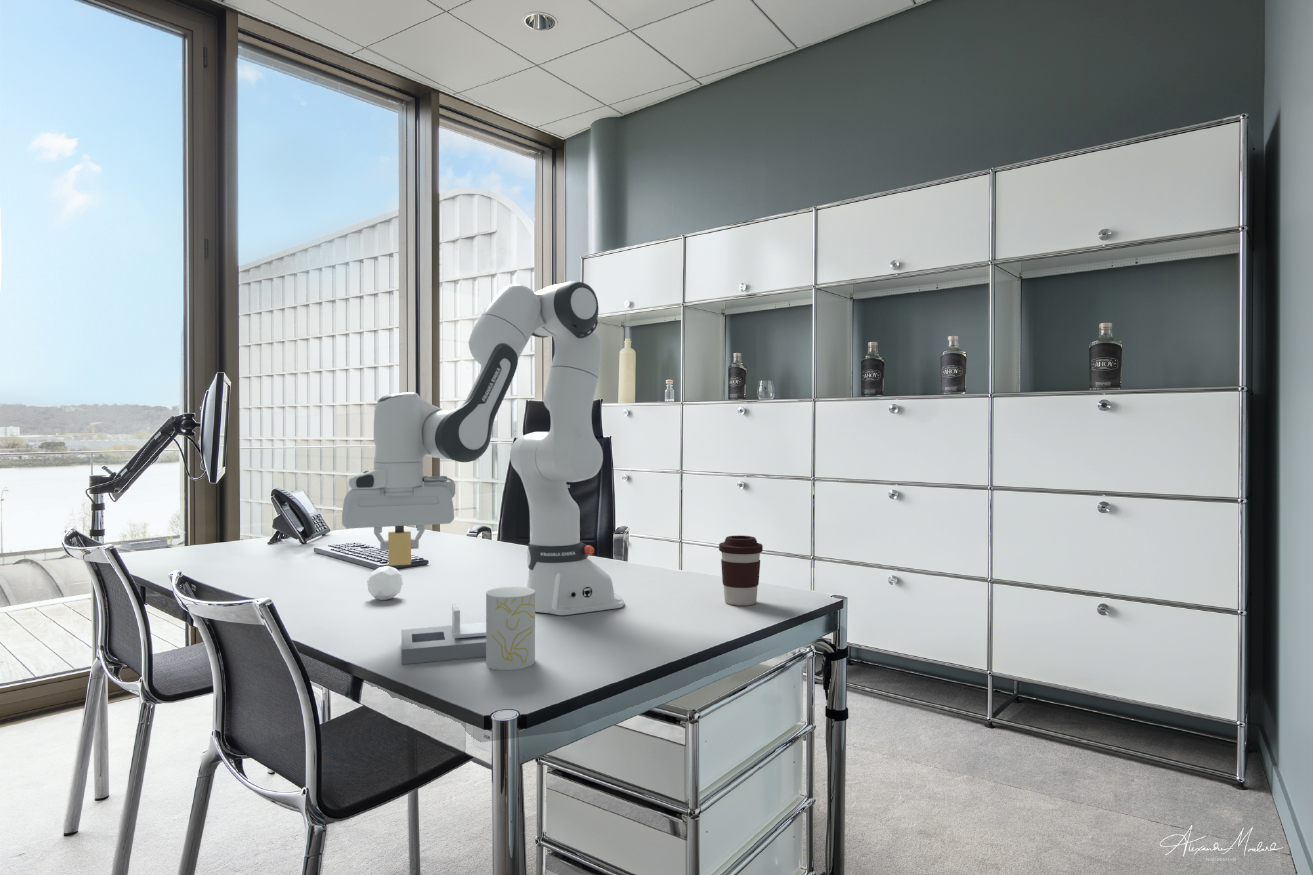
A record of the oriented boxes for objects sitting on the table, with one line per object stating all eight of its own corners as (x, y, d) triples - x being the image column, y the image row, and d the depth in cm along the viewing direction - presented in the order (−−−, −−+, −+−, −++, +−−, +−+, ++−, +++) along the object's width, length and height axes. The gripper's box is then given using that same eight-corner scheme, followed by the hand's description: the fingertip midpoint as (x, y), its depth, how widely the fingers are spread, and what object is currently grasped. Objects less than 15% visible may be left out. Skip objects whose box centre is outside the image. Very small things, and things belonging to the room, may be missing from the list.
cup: (493, 672, 120) (493, 599, 120) (480, 658, 127) (480, 589, 127) (541, 665, 124) (541, 594, 124) (526, 652, 131) (526, 585, 131)
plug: (410, 560, 144) (410, 519, 144) (411, 564, 140) (410, 522, 140) (388, 562, 143) (388, 520, 142) (388, 565, 139) (388, 523, 139)
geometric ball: (392, 608, 173) (413, 579, 176) (382, 604, 166) (404, 573, 168) (366, 591, 174) (387, 563, 177) (355, 586, 167) (377, 556, 170)
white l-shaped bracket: (451, 628, 136) (451, 603, 136) (487, 625, 138) (487, 600, 138) (454, 638, 130) (454, 612, 130) (492, 635, 132) (492, 609, 132)
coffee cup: (732, 595, 176) (732, 533, 176) (769, 601, 171) (770, 536, 170) (710, 603, 168) (710, 537, 168) (749, 610, 162) (749, 541, 162)
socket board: (401, 643, 136) (401, 629, 136) (484, 635, 141) (484, 622, 141) (401, 664, 124) (401, 649, 124) (492, 655, 129) (492, 641, 129)
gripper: (454, 474, 147) (454, 543, 148) (342, 477, 141) (343, 549, 141) (456, 476, 141) (457, 548, 142) (340, 479, 135) (341, 555, 135)
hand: (399, 549), depth 141 cm, fingers closed on plug, 4 cm apart
